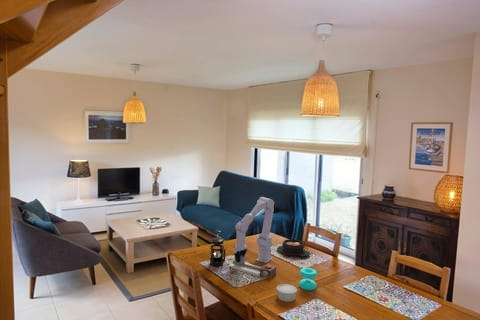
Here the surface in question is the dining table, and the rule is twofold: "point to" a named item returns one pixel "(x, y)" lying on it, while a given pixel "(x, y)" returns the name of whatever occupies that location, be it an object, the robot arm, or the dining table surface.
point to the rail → (247, 268)
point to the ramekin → (286, 292)
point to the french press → (217, 258)
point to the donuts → (308, 279)
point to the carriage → (241, 260)
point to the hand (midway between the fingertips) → (239, 260)
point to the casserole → (293, 248)
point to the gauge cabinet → (267, 272)
